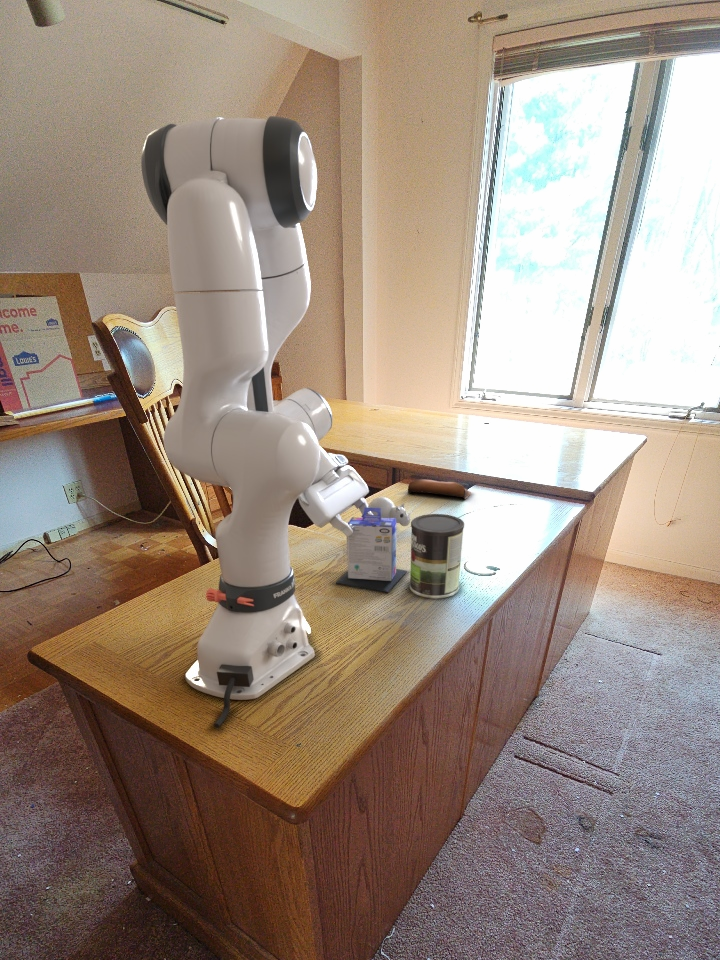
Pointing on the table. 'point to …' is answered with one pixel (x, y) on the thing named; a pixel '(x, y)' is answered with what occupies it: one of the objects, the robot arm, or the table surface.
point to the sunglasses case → (438, 488)
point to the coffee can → (435, 555)
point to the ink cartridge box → (372, 547)
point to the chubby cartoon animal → (390, 510)
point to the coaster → (372, 582)
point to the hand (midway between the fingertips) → (361, 526)
